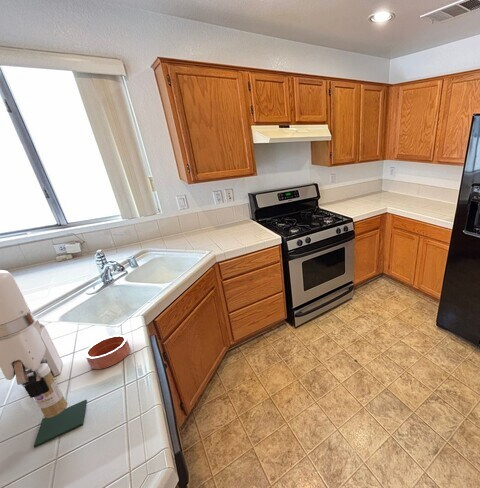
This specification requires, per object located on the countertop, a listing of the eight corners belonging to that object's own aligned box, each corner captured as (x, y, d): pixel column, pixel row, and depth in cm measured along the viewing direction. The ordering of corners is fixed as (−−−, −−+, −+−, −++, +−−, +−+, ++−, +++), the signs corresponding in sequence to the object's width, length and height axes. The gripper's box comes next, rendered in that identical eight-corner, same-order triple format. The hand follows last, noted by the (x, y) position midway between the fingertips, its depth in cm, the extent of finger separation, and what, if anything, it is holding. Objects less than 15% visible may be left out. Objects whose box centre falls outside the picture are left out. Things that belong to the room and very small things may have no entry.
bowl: (88, 376, 83) (83, 363, 82) (92, 356, 92) (87, 344, 90) (131, 359, 90) (126, 347, 88) (130, 342, 98) (126, 331, 97)
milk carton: (33, 373, 86) (6, 325, 80) (62, 362, 90) (39, 315, 84) (29, 386, 81) (0, 336, 74) (60, 374, 85) (35, 325, 79)
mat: (34, 448, 63) (33, 446, 63) (43, 420, 70) (42, 418, 70) (83, 424, 68) (82, 423, 67) (87, 400, 75) (86, 399, 74)
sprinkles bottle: (40, 422, 64) (16, 380, 60) (48, 407, 68) (26, 366, 64) (64, 413, 66) (42, 371, 62) (71, 399, 70) (50, 359, 66)
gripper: (-2, 314, 63) (31, 373, 69) (-35, 353, 50) (9, 421, 56) (41, 303, 67) (69, 359, 73) (21, 336, 54) (57, 401, 60)
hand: (42, 385), depth 65 cm, fingers closed on sprinkles bottle, 4 cm apart
